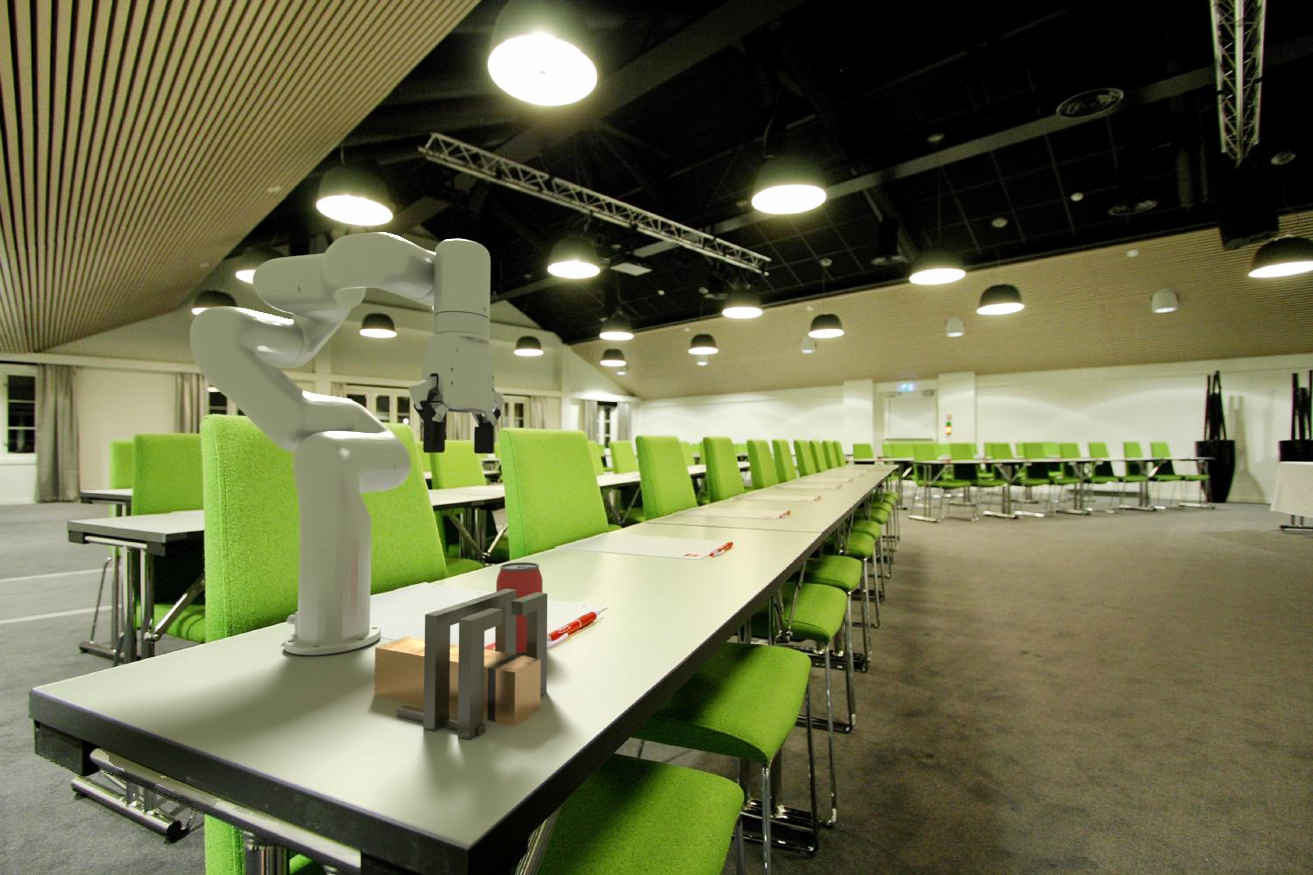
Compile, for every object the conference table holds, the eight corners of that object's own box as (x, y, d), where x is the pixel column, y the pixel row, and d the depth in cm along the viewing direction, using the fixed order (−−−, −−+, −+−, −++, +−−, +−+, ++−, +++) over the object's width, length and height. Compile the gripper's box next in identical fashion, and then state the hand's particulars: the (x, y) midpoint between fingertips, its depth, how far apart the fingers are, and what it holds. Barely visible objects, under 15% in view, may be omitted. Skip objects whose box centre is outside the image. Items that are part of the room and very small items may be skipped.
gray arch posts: (389, 720, 61) (391, 609, 61) (474, 677, 73) (476, 585, 73) (471, 740, 56) (472, 621, 57) (548, 691, 68) (549, 593, 69)
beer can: (530, 657, 80) (531, 570, 81) (486, 654, 82) (487, 568, 82) (549, 643, 87) (549, 562, 87) (508, 640, 88) (508, 560, 88)
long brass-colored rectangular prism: (374, 695, 68) (375, 647, 68) (405, 681, 72) (406, 636, 72) (514, 726, 60) (515, 672, 60) (540, 709, 64) (540, 658, 64)
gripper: (482, 344, 91) (481, 453, 90) (391, 320, 75) (389, 452, 74) (521, 340, 88) (520, 453, 87) (435, 314, 72) (433, 452, 71)
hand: (460, 453), depth 81 cm, fingers open, 9 cm apart
